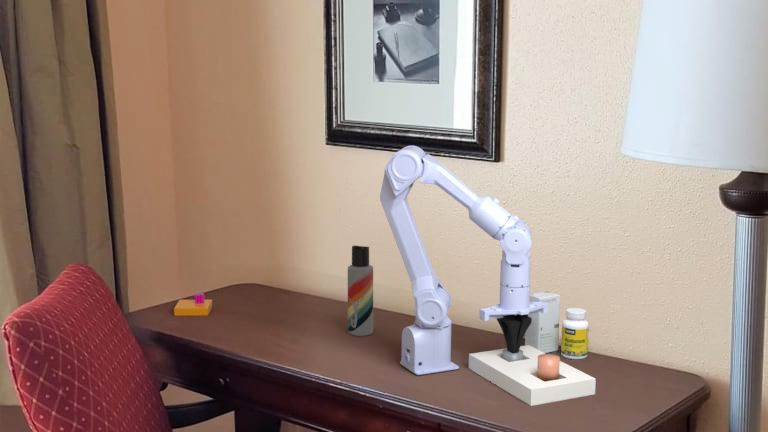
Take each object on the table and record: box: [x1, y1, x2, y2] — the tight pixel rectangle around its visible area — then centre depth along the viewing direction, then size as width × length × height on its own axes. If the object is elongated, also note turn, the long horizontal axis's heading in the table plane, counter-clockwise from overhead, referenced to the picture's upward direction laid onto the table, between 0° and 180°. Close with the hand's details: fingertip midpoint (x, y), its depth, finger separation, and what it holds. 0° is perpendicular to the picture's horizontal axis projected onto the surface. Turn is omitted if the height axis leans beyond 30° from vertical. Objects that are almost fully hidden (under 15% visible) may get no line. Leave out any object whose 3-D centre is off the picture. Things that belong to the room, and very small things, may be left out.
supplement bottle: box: [560, 307, 590, 360], centre depth 192 cm, size 5×5×10 cm
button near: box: [537, 353, 561, 382], centre depth 171 cm, size 4×4×4 cm
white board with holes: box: [468, 345, 597, 407], centre depth 177 cm, size 14×22×3 cm, turn 25°
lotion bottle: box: [347, 245, 374, 337], centre depth 206 cm, size 6×6×20 cm
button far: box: [502, 348, 523, 362], centre depth 182 cm, size 4×4×4 cm
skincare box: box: [524, 290, 561, 354], centre depth 195 cm, size 6×4×12 cm
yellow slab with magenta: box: [173, 292, 213, 317], centre depth 225 cm, size 8×8×4 cm
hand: (513, 351), depth 182 cm, fingers closed, pressing on button far
